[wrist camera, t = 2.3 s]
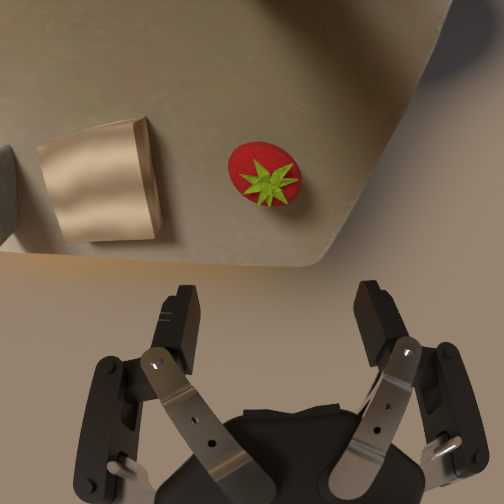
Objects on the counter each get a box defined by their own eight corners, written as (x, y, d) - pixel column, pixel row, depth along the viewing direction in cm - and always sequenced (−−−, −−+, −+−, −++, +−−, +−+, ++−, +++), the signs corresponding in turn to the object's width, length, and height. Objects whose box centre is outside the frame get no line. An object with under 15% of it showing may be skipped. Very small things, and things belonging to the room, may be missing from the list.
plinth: (53, 138, 27) (36, 147, 24) (145, 116, 27) (132, 123, 24) (79, 227, 36) (66, 242, 33) (163, 221, 36) (155, 238, 32)
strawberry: (248, 119, 28) (247, 140, 20) (304, 154, 30) (325, 189, 22) (221, 161, 31) (209, 199, 23) (275, 193, 33) (284, 239, 25)
